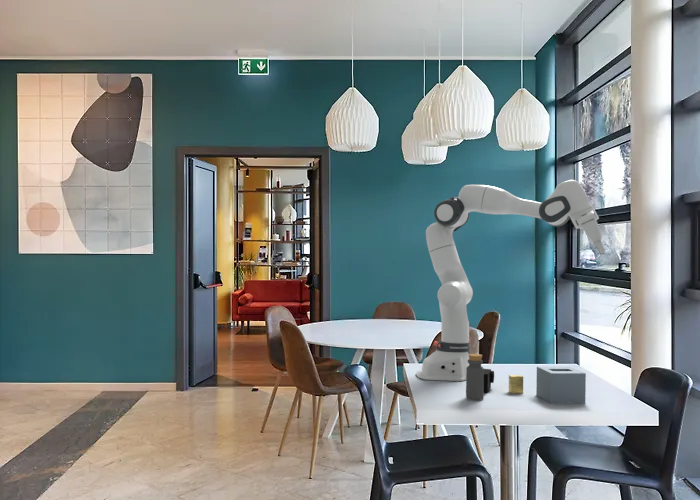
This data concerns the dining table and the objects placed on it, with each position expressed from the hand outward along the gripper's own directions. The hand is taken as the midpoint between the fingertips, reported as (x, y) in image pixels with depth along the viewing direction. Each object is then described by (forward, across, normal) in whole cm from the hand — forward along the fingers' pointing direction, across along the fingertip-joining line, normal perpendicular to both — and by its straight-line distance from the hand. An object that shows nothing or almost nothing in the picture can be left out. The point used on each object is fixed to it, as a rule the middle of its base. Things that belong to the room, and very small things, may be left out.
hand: (602, 253), depth 213 cm
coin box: (+40, +14, -35) cm, 55 cm away
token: (+34, +11, -48) cm, 60 cm away
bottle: (+29, +27, -59) cm, 72 cm away
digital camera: (+29, +12, -58) cm, 66 cm away
